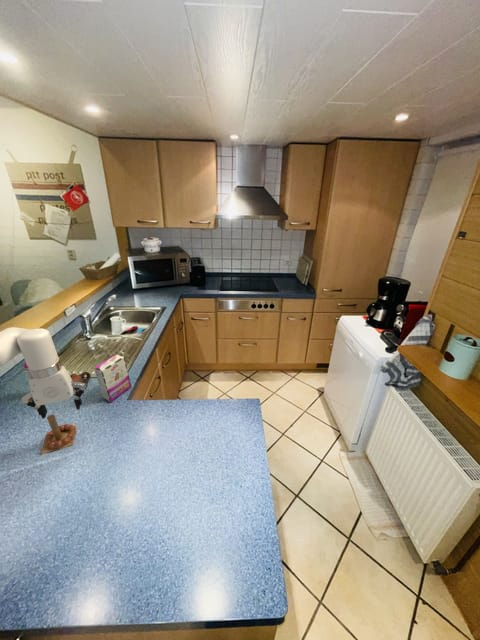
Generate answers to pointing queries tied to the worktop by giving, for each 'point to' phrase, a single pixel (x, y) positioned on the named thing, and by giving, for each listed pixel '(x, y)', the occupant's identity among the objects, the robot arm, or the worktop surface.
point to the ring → (53, 445)
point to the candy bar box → (113, 377)
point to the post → (56, 435)
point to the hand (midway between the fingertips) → (62, 410)
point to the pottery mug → (81, 378)
